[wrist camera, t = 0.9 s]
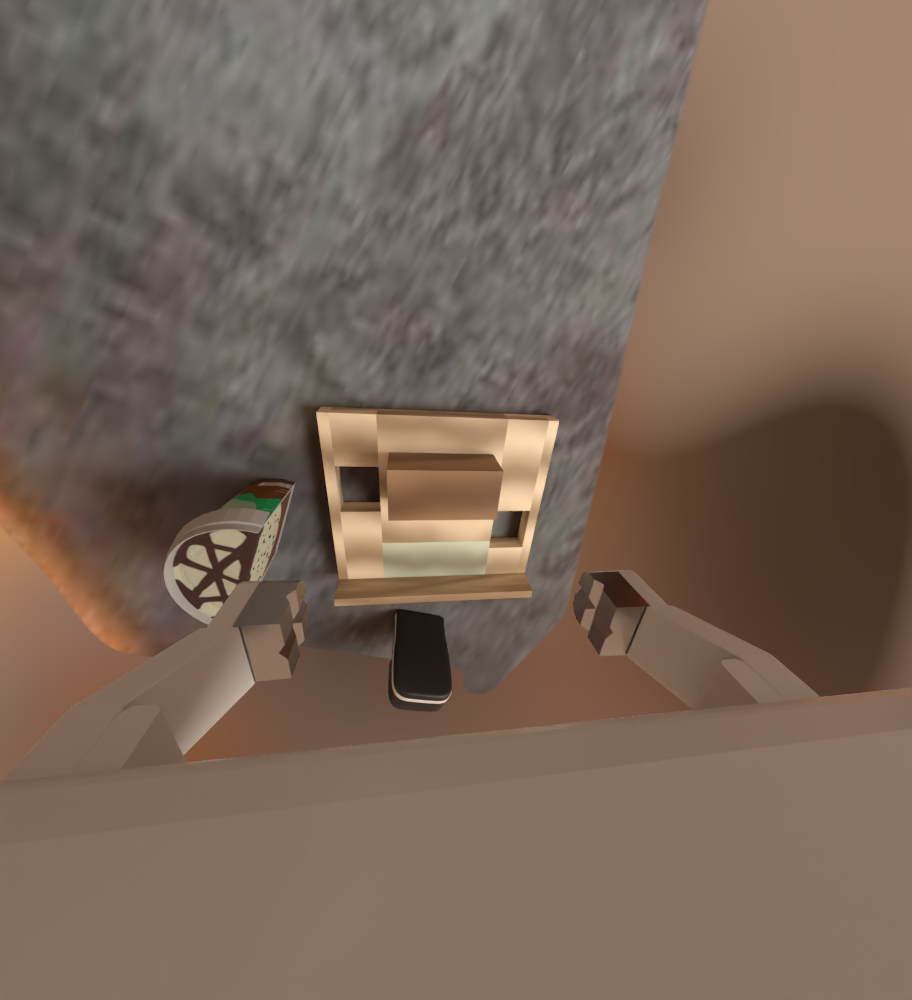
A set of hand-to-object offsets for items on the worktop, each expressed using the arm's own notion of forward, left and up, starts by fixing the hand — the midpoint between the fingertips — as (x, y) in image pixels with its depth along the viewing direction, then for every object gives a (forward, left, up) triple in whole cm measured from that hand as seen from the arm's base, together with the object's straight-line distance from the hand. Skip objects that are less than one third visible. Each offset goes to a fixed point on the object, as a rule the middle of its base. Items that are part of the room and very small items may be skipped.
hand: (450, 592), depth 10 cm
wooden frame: (+11, +2, -24) cm, 27 cm away
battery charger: (+30, 0, -24) cm, 39 cm away
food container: (+12, -17, -25) cm, 32 cm away
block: (+7, +2, -22) cm, 23 cm away
